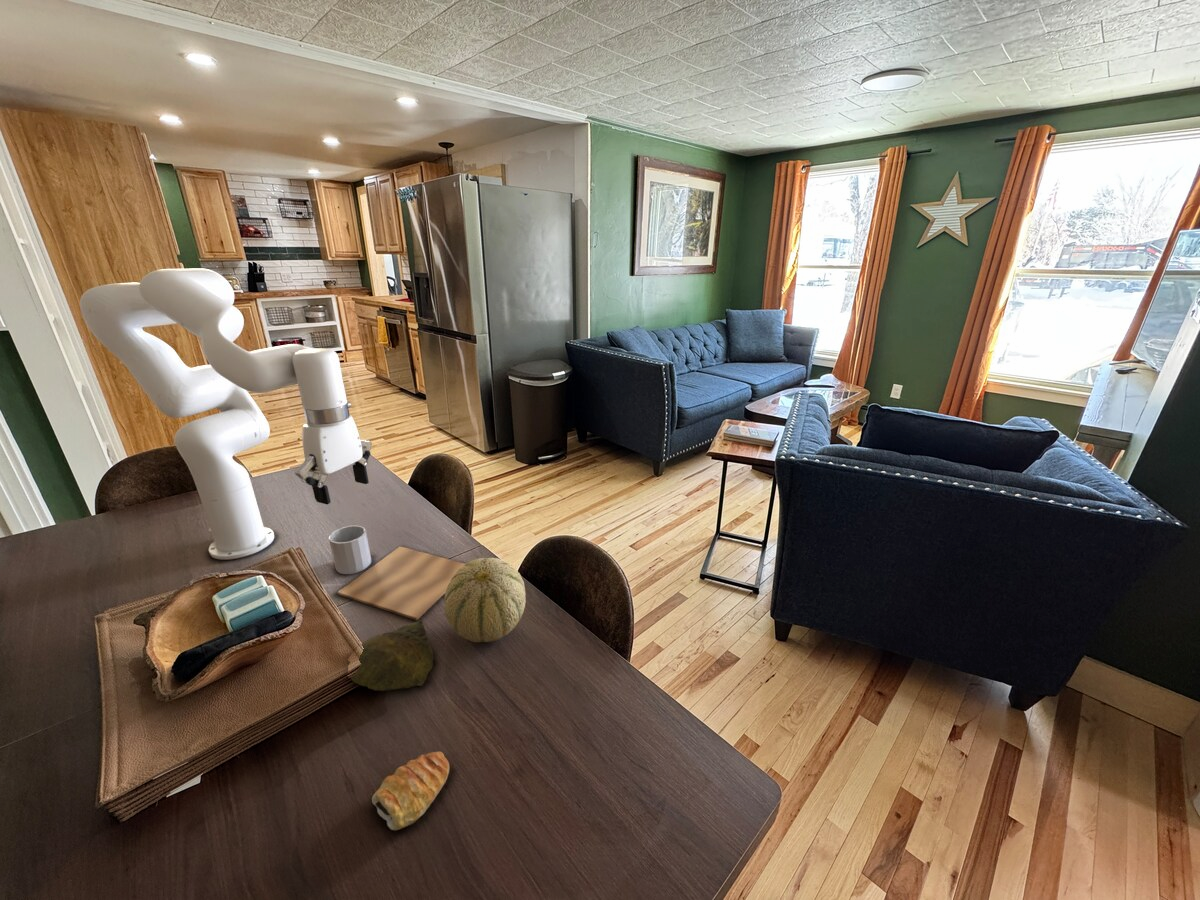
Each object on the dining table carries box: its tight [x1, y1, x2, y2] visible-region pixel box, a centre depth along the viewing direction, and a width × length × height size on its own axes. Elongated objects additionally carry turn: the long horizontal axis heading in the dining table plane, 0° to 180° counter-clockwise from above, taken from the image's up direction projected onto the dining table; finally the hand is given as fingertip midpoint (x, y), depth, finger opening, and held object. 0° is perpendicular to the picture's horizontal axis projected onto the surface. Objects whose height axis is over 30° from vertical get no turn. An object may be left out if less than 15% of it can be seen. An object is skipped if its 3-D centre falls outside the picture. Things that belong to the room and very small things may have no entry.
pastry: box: [371, 751, 450, 831], centre depth 61 cm, size 9×7×4 cm
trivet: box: [337, 545, 466, 621], centre depth 101 cm, size 20×18×1 cm
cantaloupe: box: [443, 557, 527, 643], centre depth 86 cm, size 15×15×15 cm
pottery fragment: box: [350, 619, 435, 692], centre depth 80 cm, size 13×14×4 cm
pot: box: [328, 524, 373, 575], centre depth 105 cm, size 7×7×8 cm
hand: (343, 492), depth 98 cm, fingers open, 9 cm apart
